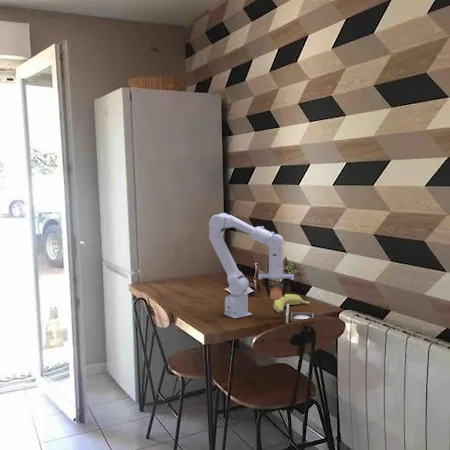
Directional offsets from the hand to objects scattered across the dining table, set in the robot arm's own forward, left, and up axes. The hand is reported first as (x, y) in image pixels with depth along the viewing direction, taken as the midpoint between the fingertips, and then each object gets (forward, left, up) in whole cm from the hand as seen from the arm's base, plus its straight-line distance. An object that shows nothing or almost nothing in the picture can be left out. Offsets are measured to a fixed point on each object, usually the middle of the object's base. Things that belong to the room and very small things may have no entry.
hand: (276, 296), depth 202 cm
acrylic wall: (+3, -3, -9) cm, 10 cm away
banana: (+15, +8, -10) cm, 20 cm away
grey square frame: (+8, -7, -9) cm, 14 cm away
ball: (0, 0, +1) cm, 1 cm away
